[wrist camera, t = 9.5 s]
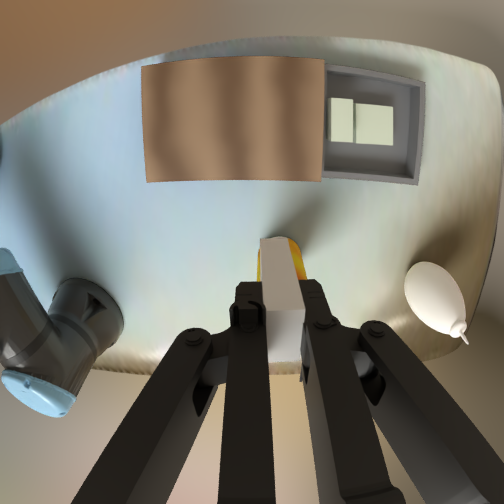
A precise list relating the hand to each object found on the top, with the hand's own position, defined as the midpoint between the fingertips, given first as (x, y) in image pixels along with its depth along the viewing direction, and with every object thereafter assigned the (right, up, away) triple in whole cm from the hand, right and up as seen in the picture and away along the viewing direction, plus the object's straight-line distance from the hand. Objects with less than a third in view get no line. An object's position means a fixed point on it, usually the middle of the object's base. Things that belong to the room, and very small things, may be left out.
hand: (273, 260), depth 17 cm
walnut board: (-3, +17, +18) cm, 25 cm away
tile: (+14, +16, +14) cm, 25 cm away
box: (+14, +17, +17) cm, 28 cm away
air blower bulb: (+26, -3, +27) cm, 37 cm away
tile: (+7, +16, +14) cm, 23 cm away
